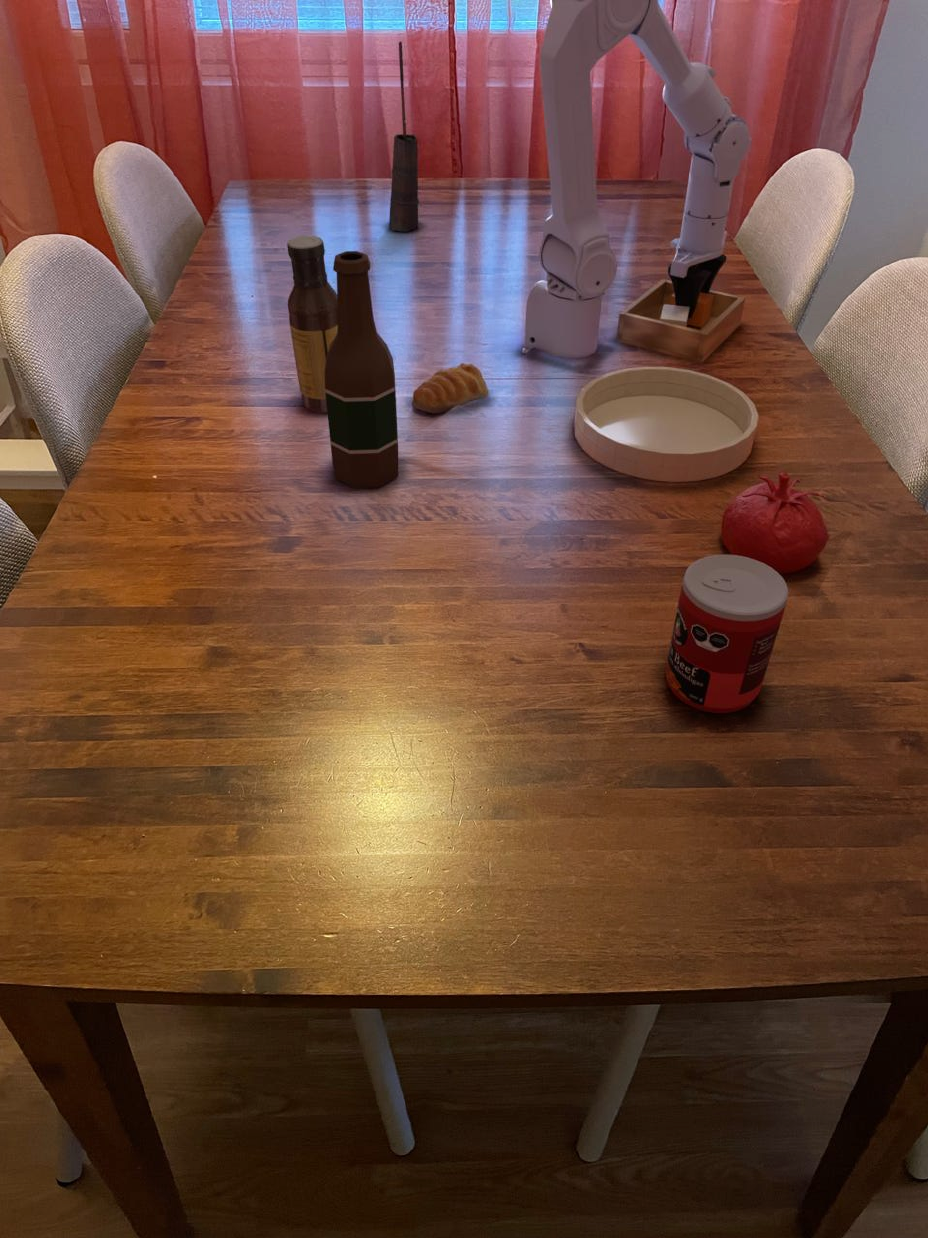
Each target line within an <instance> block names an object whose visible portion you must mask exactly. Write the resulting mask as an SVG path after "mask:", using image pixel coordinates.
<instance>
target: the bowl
mask: <svg viewBox="0 0 928 1238" xmlns="http://www.w3.org/2000/svg"><path fill="white" fill-rule="evenodd" d="M574 411H575V412H574V423H573V427H574V438H575V440H576V441H577V444H578V445H579V446H580V448H581V450H583V452H584V453H585V454H587V455H588V456H589V457H590V458H591V459H593V460H594V461H595V462H597V463H599V464H601V465H602V466H604V467H606V468H609V469H611V470H613V471H616V472H618V473H621V474H624V475H627V476H630V477H633V478H639V479H643V480H647V481H656V482H669V483H687V482H688V483H689V482H699V481H705V480H709V479H714V478H717V477H720V476H723V475H726V474H728V473H730V472H732V471H734V470H736V469H737V468H739V467H740V466H741V465H743V464H744V463H745V461H746V460H747V459H748V458H749V456H750V455H751V452H752V449H753V445H754V440H755V435H756V432H757V427H758V423H759V422H758V421H759V417H760V416H759V413H758V409H757V407H756V405H755V403H754V402H753V400H752V399H750V397H748V395H747V394H746V393H744V392H743V391H742V390H740V389H739V388H737V387H736V386H734V385H733V384H731V383H729V382H727V381H725V380H722V379H720V378H717V377H715V376H712V375H710V374H706V373H703V372H698V371H696V370H695V371H694V370H692V369H691V370H690V369H684V368H676V367H671V366H670V367H669V366H639V367H628V368H623V369H618V370H615V371H610V372H606V373H604V374H602V375H600V376H598V377H596V378H593V379H591V380H590V381H589V382H588V383H586V384H585V385H584V386H583V387H582V388H581V389H580V391H579V393H578V395H577V397H576V400H575V410H574Z"/></svg>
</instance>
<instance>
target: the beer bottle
mask: <svg viewBox="0 0 928 1238" xmlns="http://www.w3.org/2000/svg"><path fill="white" fill-rule="evenodd" d="M370 270H371V261H370V258H369V255H368V254H366V253H363V252H361V251H358V250H346V251H343V252H341V253H338V254H335V255H334V261H333V268H332V271H334V272H335V273H336V293H337V305H338V331H337V335H336V336H335V338H334V340H333V341H332V343H331V345H330V346H329V350H328V354H327V358H326V365H325V394H326V404H327V413H326V414H327V422H328V433H329V441H330V442H329V443H330V452H331V453H330V454H331V461H332V468H333V474H334V478H335V479H336V480H338V481H339V482H341V483H343V484H345V485H347V486H349V487H351V488H353V489H369V488H370V489H373V488H376V489H377V488H380V487H382V486H384V485H386V484H388V483H389V482H391V481H393V480H394V479H396V478H398V475H399V435H398V433H399V432H398V415H397V414H398V413H397V412H398V411H397V393H396V392H397V391H396V389H397V388H396V373H395V365H394V358H393V355H392V353H391V350H390V348H389V346H388V344H387V343H386V341H385V340H384V339H383V338H382V336H381V335H380V334H379V332H378V330H377V325H376V322H375V318H374V310H373V301H372V294H371V286H370V285H371V284H370V277H369V271H370Z"/></svg>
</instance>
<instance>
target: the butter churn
mask: <svg viewBox="0 0 928 1238" xmlns="http://www.w3.org/2000/svg"><path fill="white" fill-rule="evenodd" d="M403 58H404V57H403V42H402V41H401V40H400V41H399V42H398V59H399V60H398V61H399V80H400V95H401V98H400V99H401V120H402V121H401V122H402V134H401V133H400V134H399V133H397V134H395V135H394V137H393V152H392V168H391V189H390V203H389V216H388V217H389V218H388V219H389V220H388V227H390V229H391V231H396V232H405V233H407V232H410V231H412V230H416V229H417V228H419V203H420V201H419V200H420V199H419V151H418V150H419V147H418V141H419V140H418V137H417V136H416V134H414V133H413V134H409V133H408V134H407V123H406V120H407V118H406V107H405V105H406V104H405V103H406V102H405V87H404V86H405V84H404V80H405V79H404V61H403V60H404V59H403Z"/></svg>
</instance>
